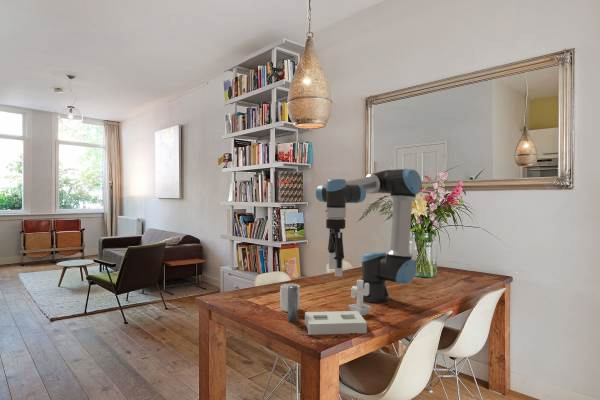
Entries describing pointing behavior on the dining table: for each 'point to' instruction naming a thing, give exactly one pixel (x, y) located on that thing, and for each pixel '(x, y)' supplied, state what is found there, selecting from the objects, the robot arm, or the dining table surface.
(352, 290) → the figurine
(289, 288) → the steel pin
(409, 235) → the robot arm
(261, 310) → the dining table surface
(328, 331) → the bore block
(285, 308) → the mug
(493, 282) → the dining table surface
